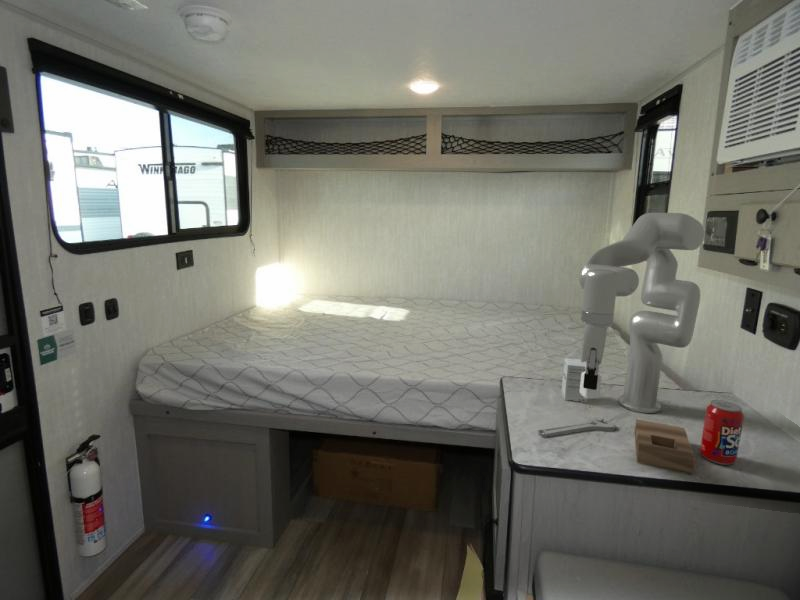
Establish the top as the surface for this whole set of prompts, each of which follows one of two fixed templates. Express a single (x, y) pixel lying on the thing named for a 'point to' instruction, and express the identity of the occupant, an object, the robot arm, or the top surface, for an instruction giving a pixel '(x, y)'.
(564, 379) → the supplement box
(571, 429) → the adjustable wrench
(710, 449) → the soda can
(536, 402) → the top surface
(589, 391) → the pepper shaker
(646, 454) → the socket block
